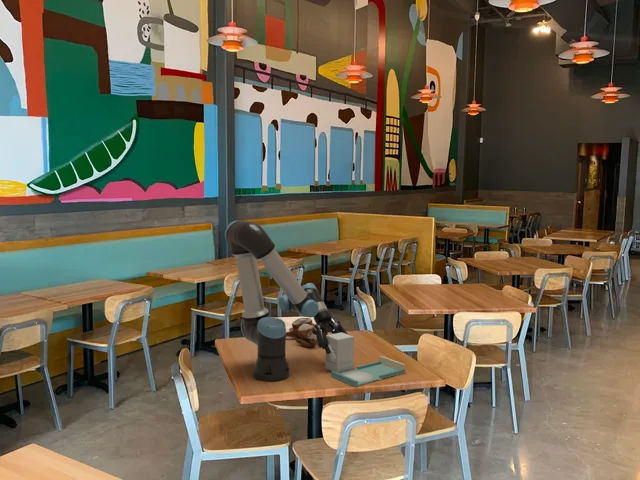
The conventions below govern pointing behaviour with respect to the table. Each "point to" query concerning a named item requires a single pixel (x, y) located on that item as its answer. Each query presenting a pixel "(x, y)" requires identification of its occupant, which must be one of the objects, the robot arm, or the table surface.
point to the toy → (304, 331)
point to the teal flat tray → (371, 372)
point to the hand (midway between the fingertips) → (343, 357)
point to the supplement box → (341, 352)
